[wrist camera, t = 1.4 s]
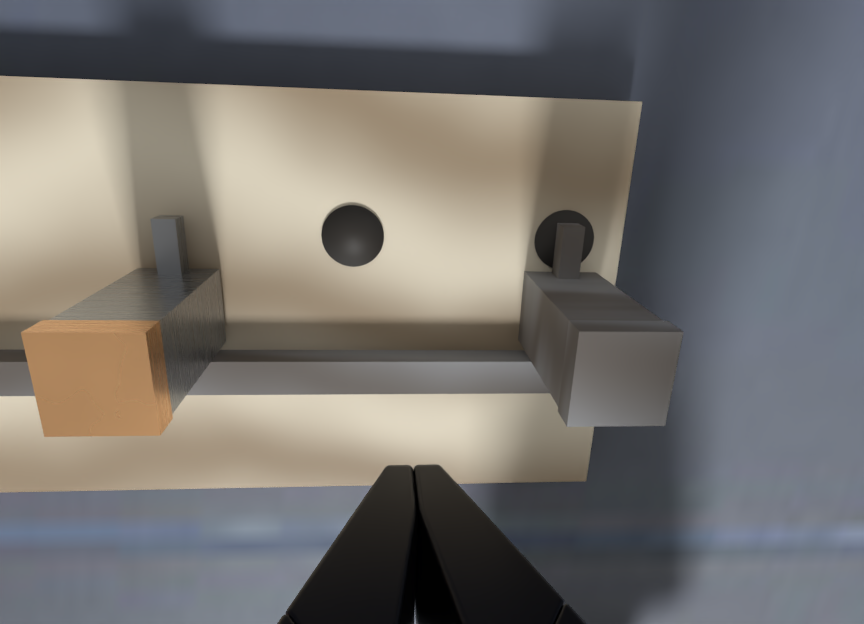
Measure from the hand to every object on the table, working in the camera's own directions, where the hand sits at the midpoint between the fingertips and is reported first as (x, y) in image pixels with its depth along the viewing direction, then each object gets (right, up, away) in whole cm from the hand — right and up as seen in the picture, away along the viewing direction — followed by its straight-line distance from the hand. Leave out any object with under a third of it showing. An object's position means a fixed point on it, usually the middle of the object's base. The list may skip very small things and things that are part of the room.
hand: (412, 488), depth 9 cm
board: (-6, +3, +11) cm, 13 cm away
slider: (-8, +4, +9) cm, 12 cm away
